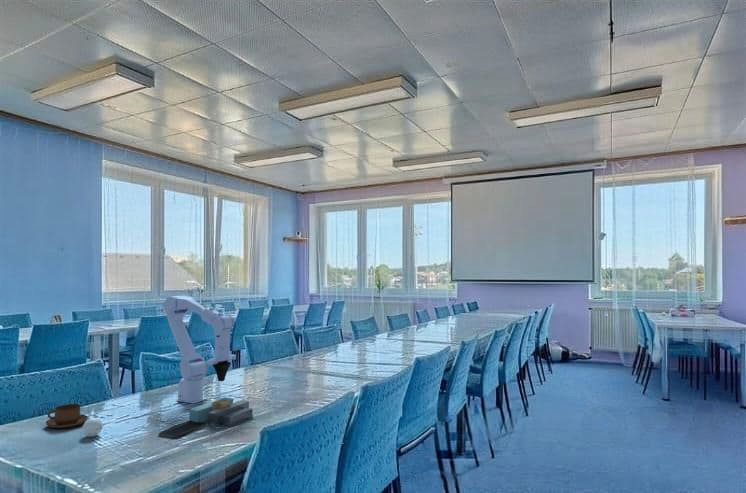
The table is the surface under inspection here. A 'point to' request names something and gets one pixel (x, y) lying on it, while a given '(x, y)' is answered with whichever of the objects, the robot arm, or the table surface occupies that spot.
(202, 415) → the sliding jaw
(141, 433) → the table surface
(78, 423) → the cup and saucer
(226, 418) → the vise
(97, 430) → the white rounded piece
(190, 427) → the phone
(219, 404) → the oak block
